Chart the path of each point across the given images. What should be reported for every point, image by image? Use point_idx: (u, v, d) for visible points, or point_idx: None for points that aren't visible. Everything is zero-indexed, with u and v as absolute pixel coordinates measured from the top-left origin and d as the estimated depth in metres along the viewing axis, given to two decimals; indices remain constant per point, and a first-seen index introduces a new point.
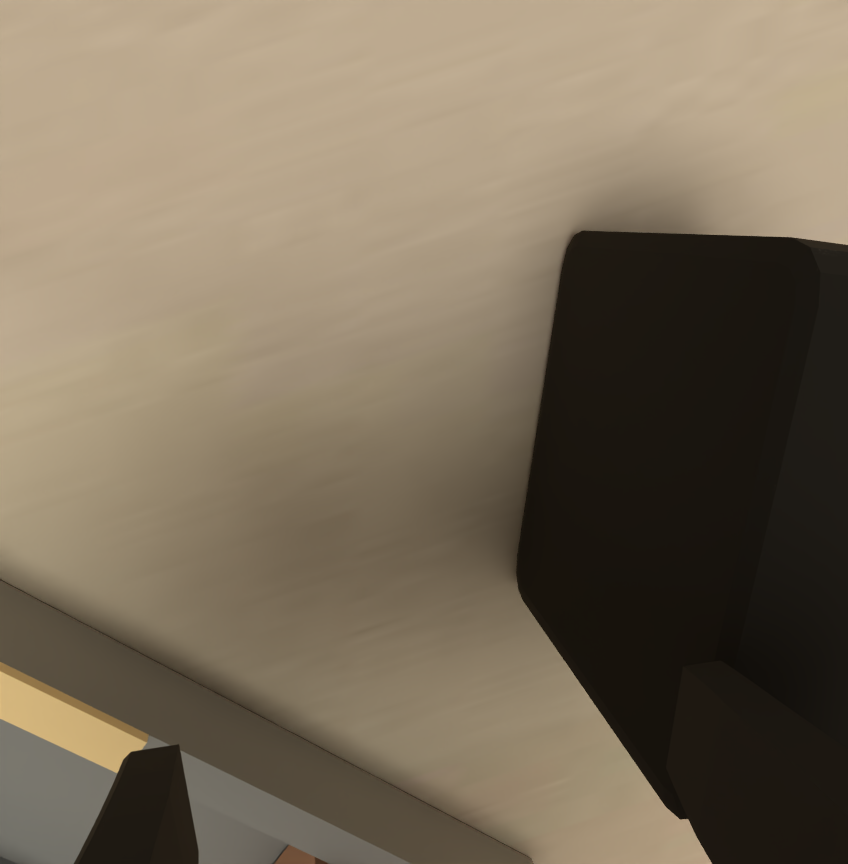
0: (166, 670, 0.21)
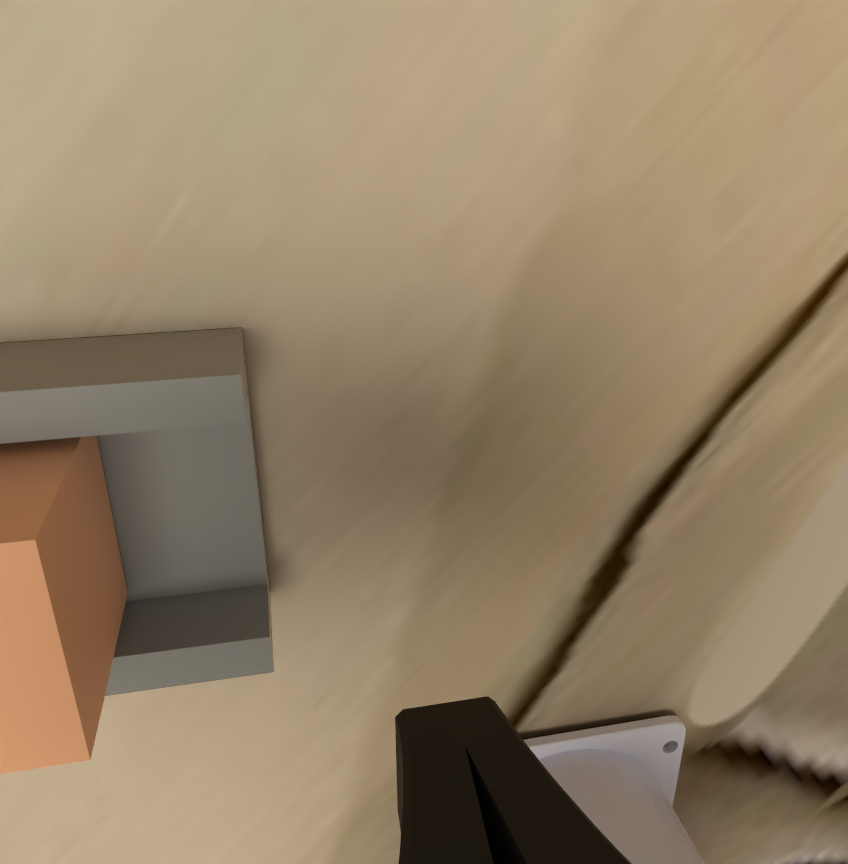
0: None
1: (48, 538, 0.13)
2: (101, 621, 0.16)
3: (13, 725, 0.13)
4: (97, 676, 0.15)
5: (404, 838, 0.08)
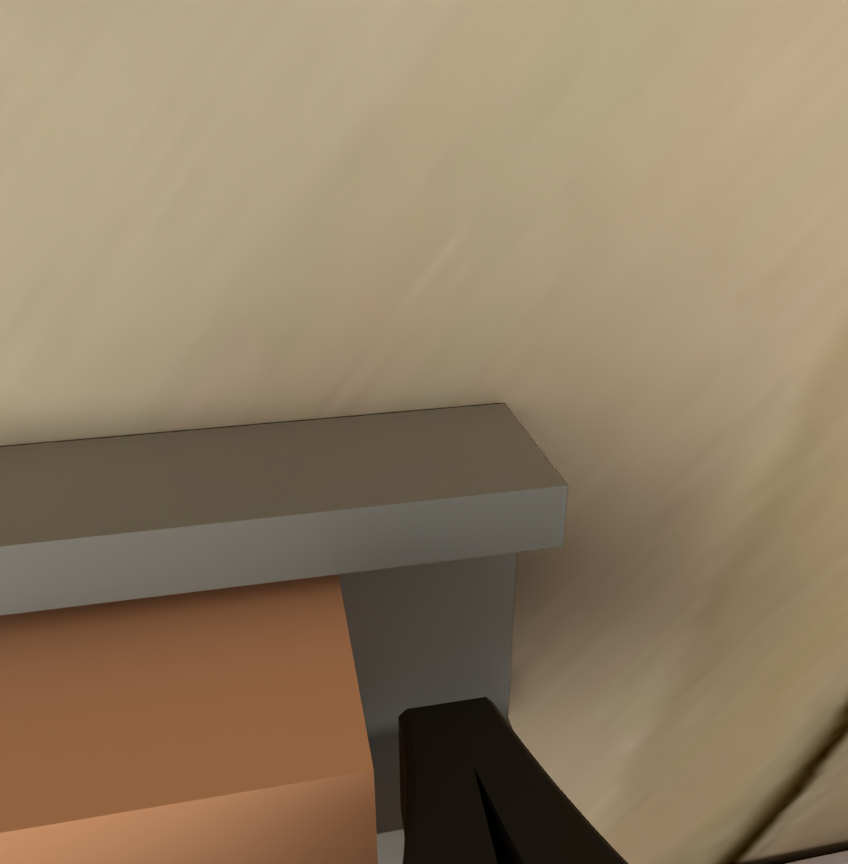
0: None
1: None
2: None
3: None
4: None
5: (408, 837, 0.08)
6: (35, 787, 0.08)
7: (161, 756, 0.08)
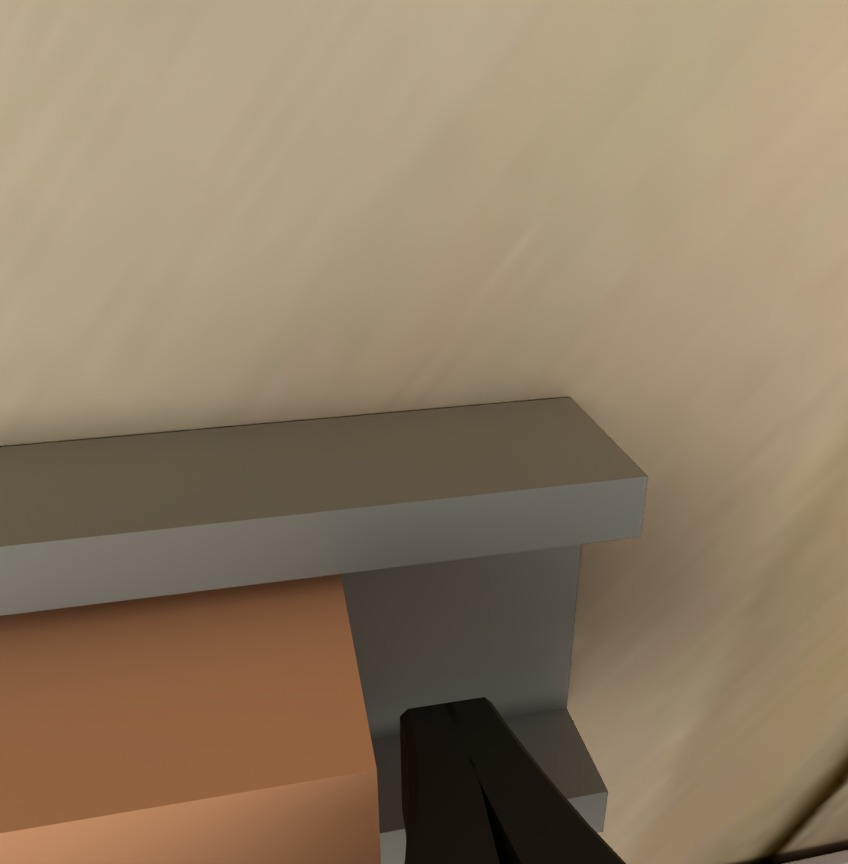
0: None
1: (370, 748, 0.09)
2: None
3: None
4: None
5: (410, 837, 0.08)
6: (39, 787, 0.08)
7: (164, 755, 0.08)
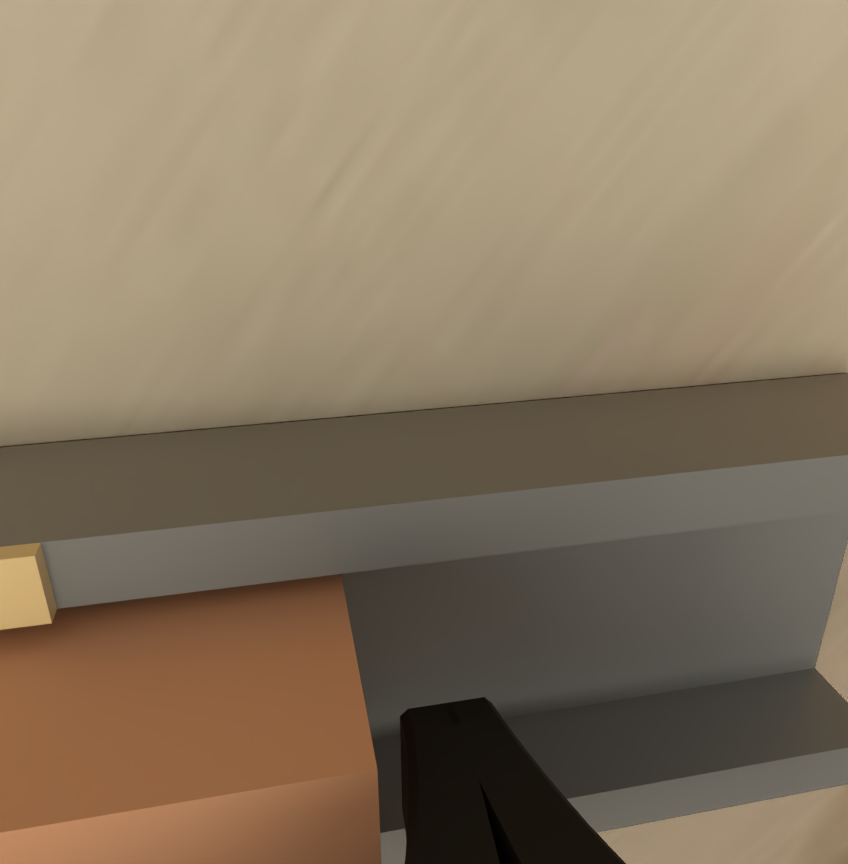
0: (91, 442, 0.12)
1: None
2: None
3: None
4: None
5: (410, 837, 0.08)
6: (40, 786, 0.08)
7: (165, 754, 0.08)
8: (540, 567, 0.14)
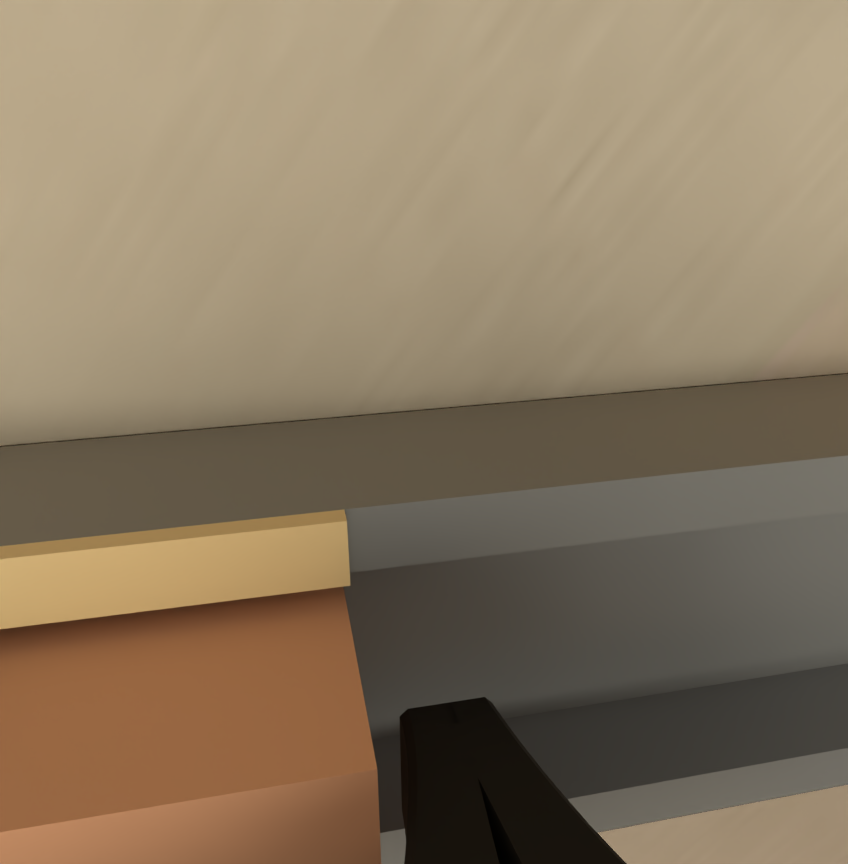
0: (332, 421, 0.13)
1: None
2: None
3: None
4: None
5: (410, 837, 0.08)
6: (40, 785, 0.08)
7: (166, 754, 0.08)
8: (732, 543, 0.15)
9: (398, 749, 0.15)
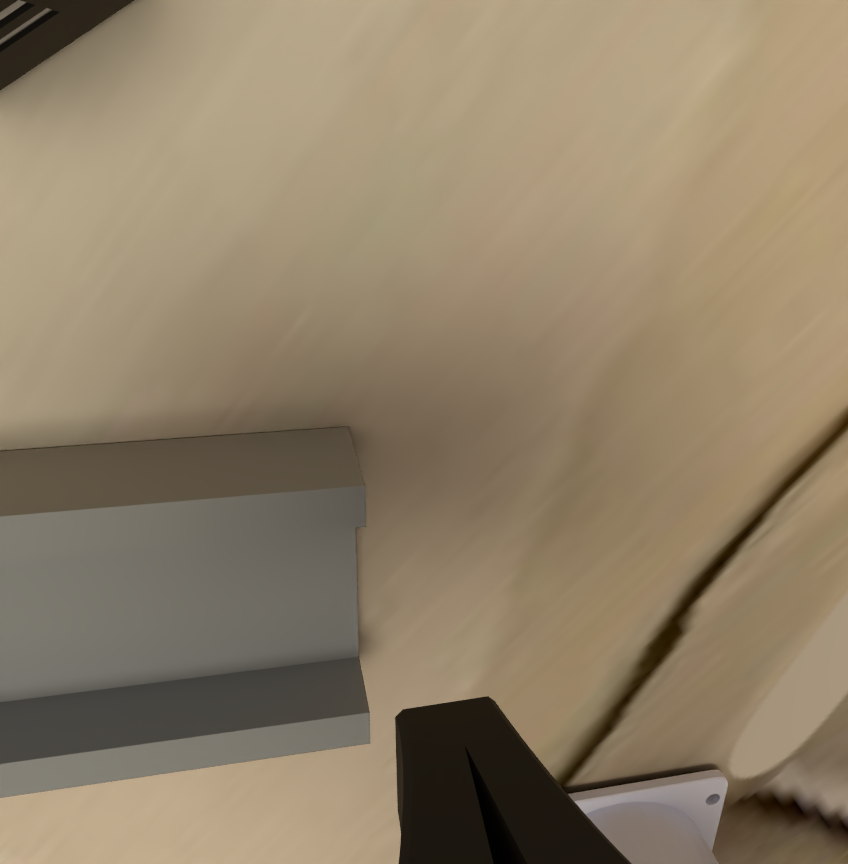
0: None
1: None
2: None
3: None
4: None
5: (404, 838, 0.08)
6: None
7: None
8: (87, 573, 0.18)
9: None
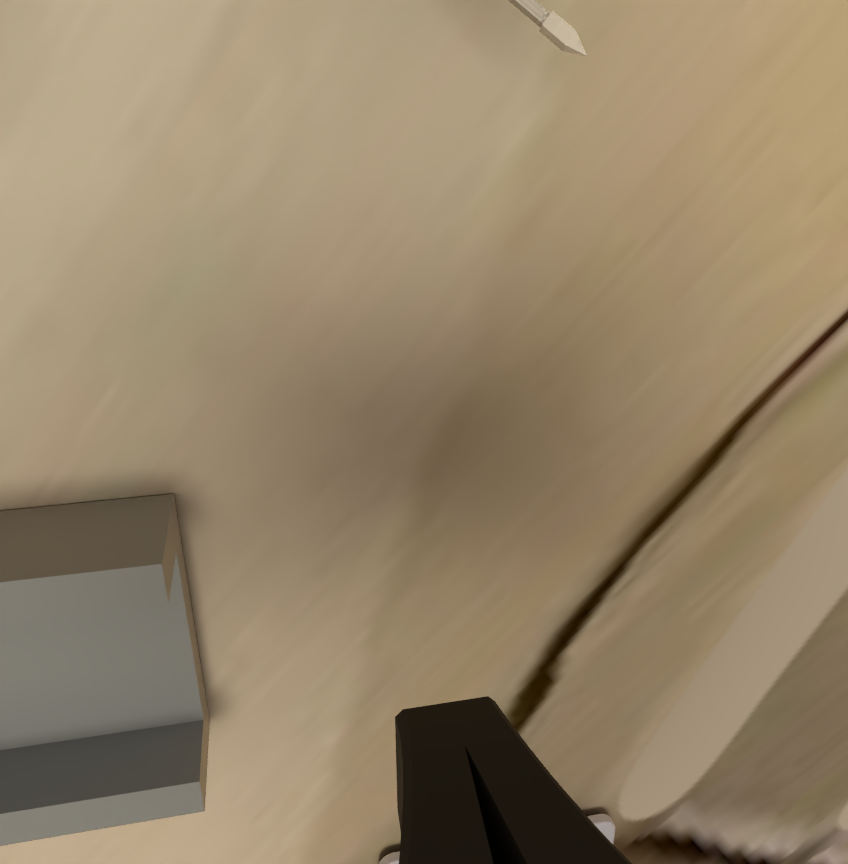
0: None
1: None
2: None
3: None
4: None
5: (404, 838, 0.08)
6: None
7: None
8: None
9: None
